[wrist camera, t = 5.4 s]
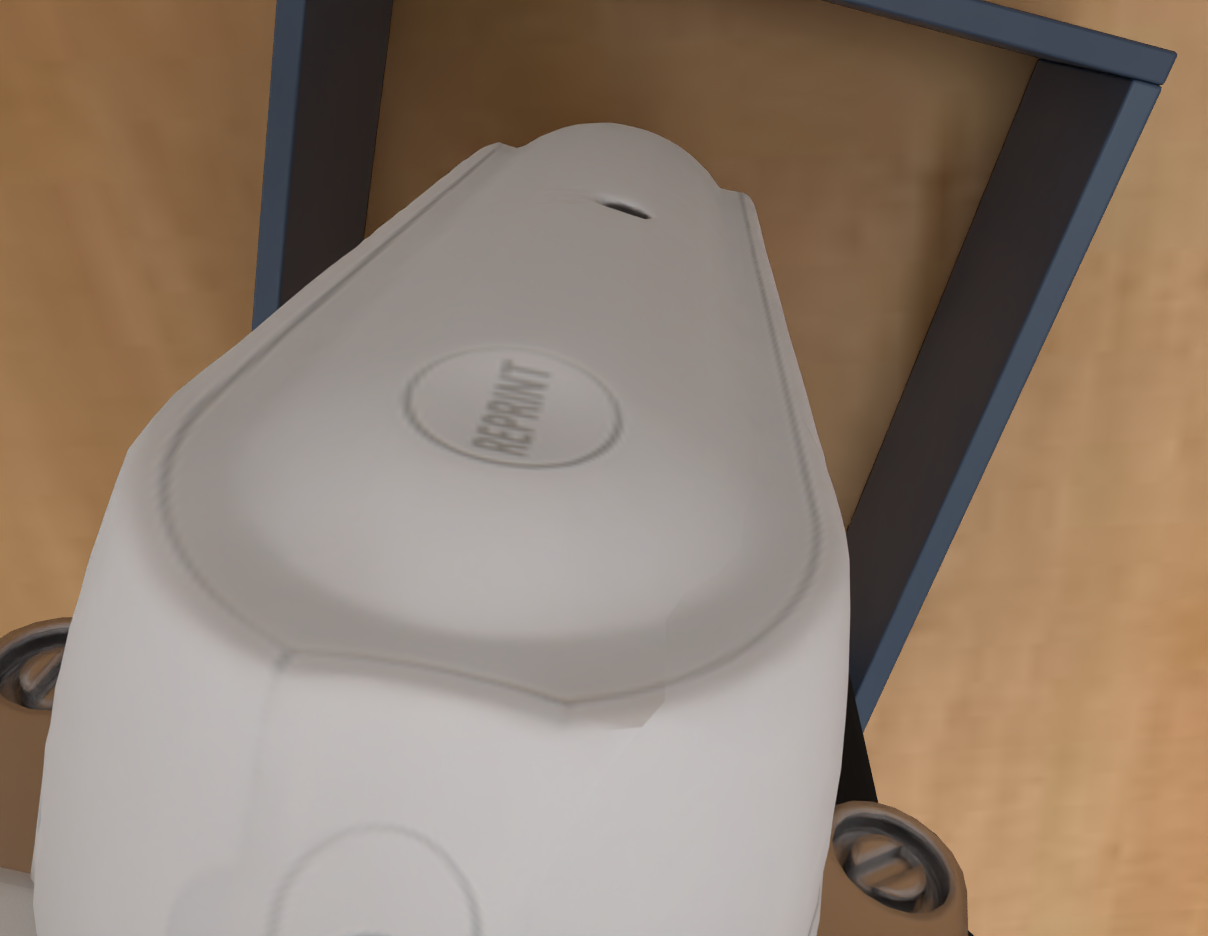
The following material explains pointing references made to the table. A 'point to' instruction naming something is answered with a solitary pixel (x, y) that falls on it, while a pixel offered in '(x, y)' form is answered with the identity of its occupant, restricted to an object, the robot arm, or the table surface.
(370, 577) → the photo printer
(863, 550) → the dark gray open box
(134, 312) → the table surface
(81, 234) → the table surface
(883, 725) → the table surface
